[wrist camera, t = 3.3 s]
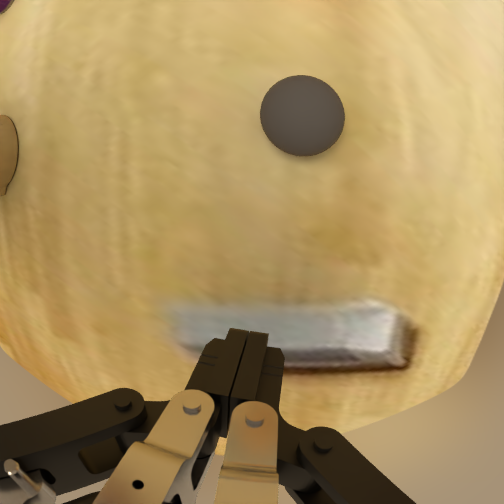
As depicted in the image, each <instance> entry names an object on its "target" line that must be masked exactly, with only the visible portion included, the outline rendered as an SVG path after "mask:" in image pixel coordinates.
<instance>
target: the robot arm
mask: <svg viewBox="0 0 504 504" xmlns="http://www.w3.org/2000/svg"><path fill="white" fill-rule="evenodd" d="M17 154H18V142H17V135H16V131H15V127H14V125H13V123H12V121H11V120H10V119H9V118H8V117H7V116H5V115H0V196H2V195H5V191H6V186H7V185H8V183H9V182H10V181H11V179H12V177H13V174H14V171H15V168H16V163H17ZM268 336H269V334H267V333H260V332H253V331H250V333H249V331H246V330H240V329H234V328H230V329H229V331H228V334H227V336H226V339H225V340H223V339H217V338H214V339H213V340H212V341H210V342H209V343H208V344H206V346H205V348H204V350H203V352H202V355H201V356H200V358H199V360H198V363H197V365H196V367H195V369H194V371H193V373H192V375H191V377H190V380H189V382H188V384H187V386H186V388H185V390H184V391H181V392H178V393H177V394H175V395H174V396H173V397H172V398H171V400H169V401H144V399H143V397H142V395H141V394H140V393H138V392H137V391H135V390H133V389H129V388H119V389H115V390H112V391H109V392H107V393H104V394H101V395H98V396H95V397H92V398H89V399H87V400H84V401H81V402H78V403H75V404H72V405H69V406H66V407H62V408H59V409H56V410H53V411H50V412H46V413H43V414H40V415H37V416H33V417H29V418H26V419H22V420H19V421H15V422H11V423H8V424H4V425H0V504H55V501H56V496H58V495H61V494H64V493H67V492H71V491H74V490H77V489H80V488H82V487H86V486H88V485H91V484H94V483H97V482H100V481H102V480H105V479H107V478H109V479H108V481H107V482H106V484H105V485H104V487H103V488H102V490H101V491H98V492H94V493H91V494H88V495H85V496H82V497H80V498H77V499H75V500H72V501H69V502H66V503H63V504H195V503H196V497H197V494H198V491H199V489H200V487H201V485H202V482H203V480H204V478H205V475H206V473H207V471H208V468H209V466H210V464H211V461H212V459H213V456H214V454H215V448H216V446H217V443H218V439H219V437H224V438H227V435H228V438H227V444H226V450H225V455H224V461H223V465H222V467H221V470H220V474H219V479H218V485H217V490H216V495H215V500H214V504H278V488H279V487H278V486H279V484H281V485H283V486H285V489H286V491H287V492H288V493H289V495H290V496H291V497H292V498H293V499H294V501H295V502H296V503H297V504H416V503H415V502H414V501H413V500H411V499H410V498H409V497H408V496H407V495H406V494H405V493H403V492H402V491H401V490H400V489H399V488H398V487H397V486H395V485H394V484H393V483H392V482H391V481H390V480H389V479H388V478H387V477H386V476H385V475H383V474H382V473H381V472H380V471H379V470H378V469H377V468H376V467H375V466H374V465H373V464H372V463H370V462H369V461H368V460H367V459H366V458H365V457H364V456H363V455H362V454H361V453H360V452H359V451H358V450H357V449H356V448H354V446H352V444H350V442H348V441H347V440H346V439H345V438H344V437H343V436H342V435H341V434H340V433H339V432H338V431H336V430H334V429H332V428H328V427H314V428H311V429H309V430H307V431H304V430H301V429H299V428H296V427H294V426H291V425H290V424H288V423H287V422H286V421H285V420H284V419H283V418H282V416H281V415H280V412H279V401H280V393H281V385H282V376H283V368H284V360H285V357H284V355H283V353H282V351H281V349H280V348H274V347H267V343H268ZM228 431H229V433H228Z"/></svg>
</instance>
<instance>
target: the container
mask: <svg viewBox="0 0 504 504" xmlns="http://www.w3.org/2000/svg"><path fill="white" fill-rule="evenodd" d="M13 1H14V0H0V14H2V13H4V12H5V11H6V10H7V9H8V8H9V7H10V5H11V4H12V3H13Z"/></svg>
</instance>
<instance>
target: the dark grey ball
mask: <svg viewBox="0 0 504 504" xmlns="http://www.w3.org/2000/svg"><path fill="white" fill-rule="evenodd" d="M260 118H261V124H262V127H263V130H264V132H265V134H266V135H267V137H268V138H269V140H270V141H271V142H272V143H273V144H274V145H275V146H276V147H278V148H279V149H281V150H283V151H284V152H287V153H289V154H292V155H297V156H311V155H316V154H319V153H321V152H323V151H325V150H327V149H328V148H330V147H331V146H332V145H333V144H334V143H335V142H336V141H337V139H338V138H339V136H340V135H341V132H342V130H343V126H344V120H345V114H344V108H343V105H342V102H341V100H340V98H339V96H338V95H337V93H336V92H335V91H334V89H332V88H331V87H330V86H329V85H328V84H327V83H325V82H323V81H322V80H320V79H317V78H315V77H311V76H305V75H297V76H291V77H287V78H285V79H282V80H281V81H279V82H277V83H276V84H275V85H273V86H272V87H271V88H270V89H269V91H268V92H267V93H266V95H265V97H264V99H263V101H262V105H261V110H260Z"/></svg>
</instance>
